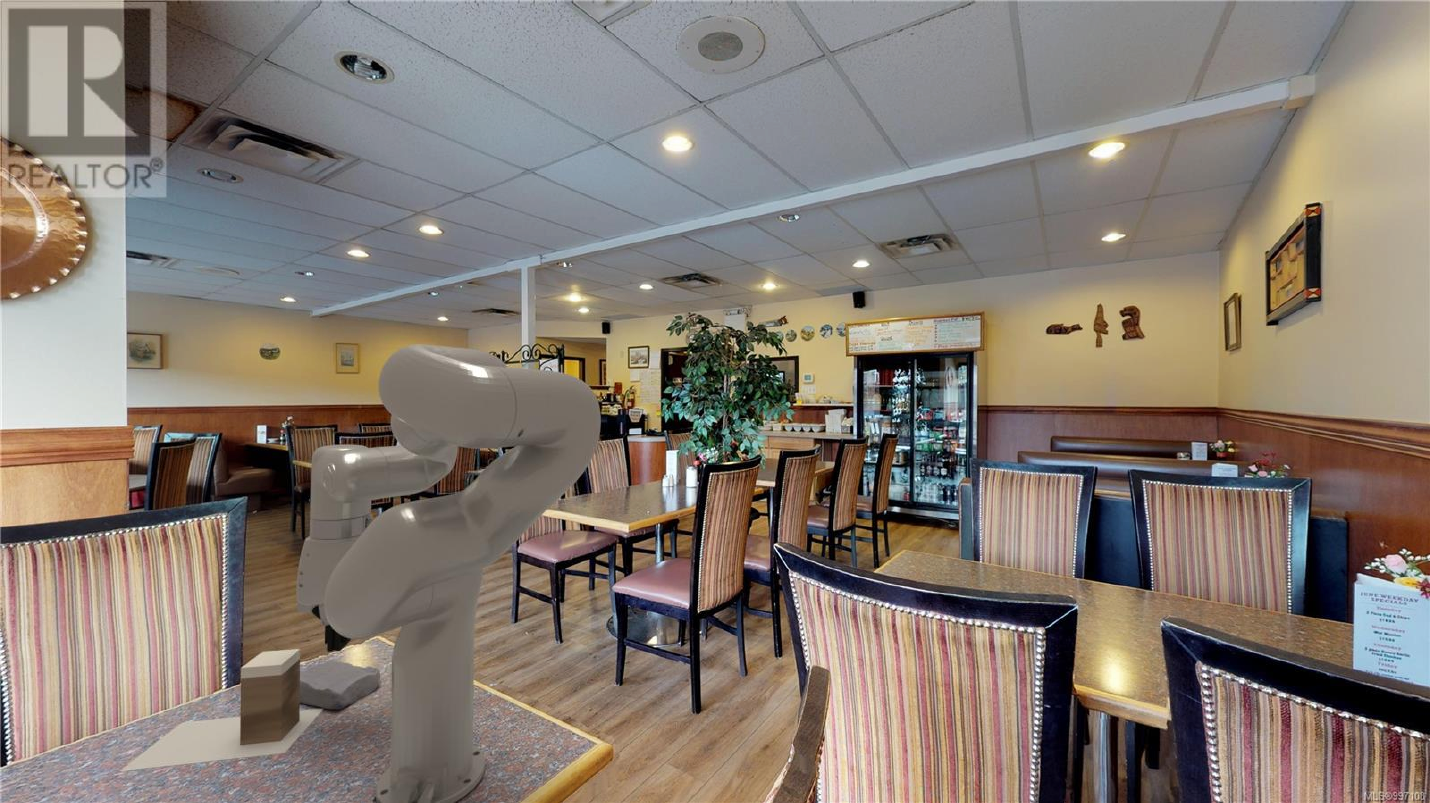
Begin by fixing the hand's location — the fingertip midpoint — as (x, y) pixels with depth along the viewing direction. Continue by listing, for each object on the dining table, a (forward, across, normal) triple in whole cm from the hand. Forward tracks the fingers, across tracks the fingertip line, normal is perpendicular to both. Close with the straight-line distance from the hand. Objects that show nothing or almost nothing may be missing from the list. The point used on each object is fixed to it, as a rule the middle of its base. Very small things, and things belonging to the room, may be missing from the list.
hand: (338, 647), depth 81 cm
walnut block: (+12, +8, +1) cm, 14 cm away
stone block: (+12, +4, -10) cm, 16 cm away
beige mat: (+12, +13, +1) cm, 18 cm away
